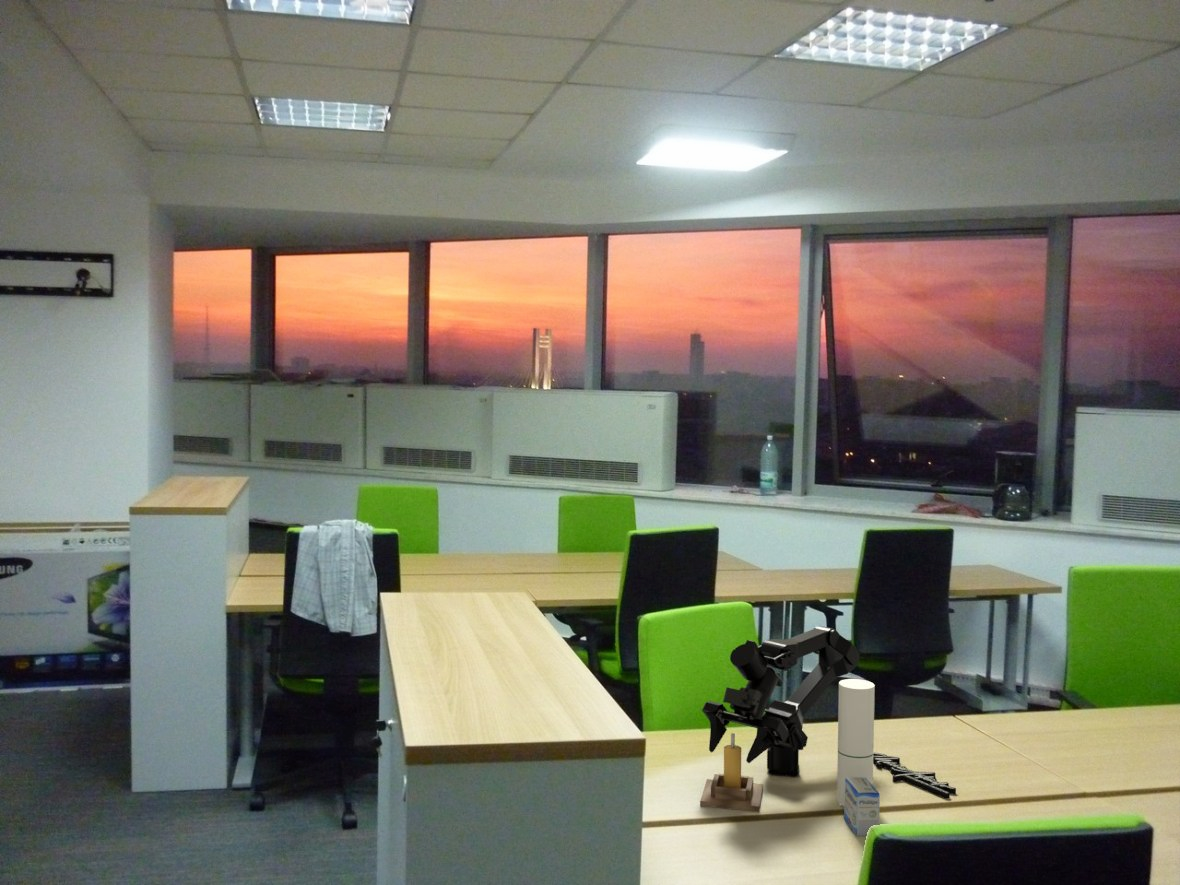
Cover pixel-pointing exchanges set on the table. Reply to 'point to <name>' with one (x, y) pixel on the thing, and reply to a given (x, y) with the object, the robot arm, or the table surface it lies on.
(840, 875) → the table surface
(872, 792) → the medicine box
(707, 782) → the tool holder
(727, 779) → the yellow cylindrical piece
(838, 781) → the cylindrical container
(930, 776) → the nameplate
